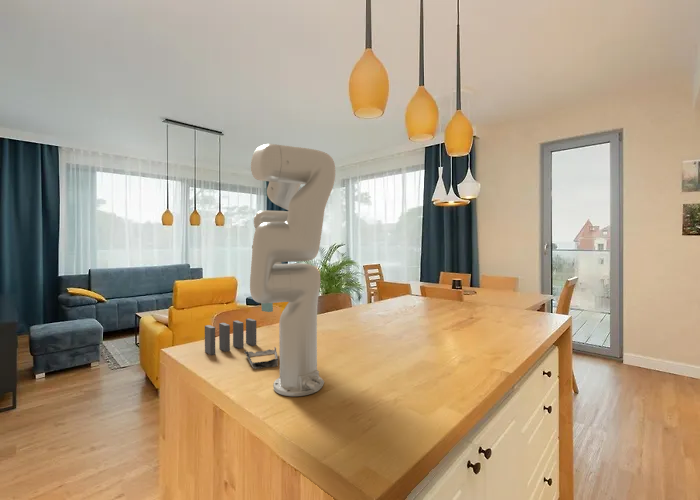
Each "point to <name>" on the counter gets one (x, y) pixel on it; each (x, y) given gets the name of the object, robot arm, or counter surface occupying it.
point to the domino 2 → (224, 337)
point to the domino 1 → (210, 340)
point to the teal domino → (267, 307)
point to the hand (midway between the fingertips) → (266, 300)
